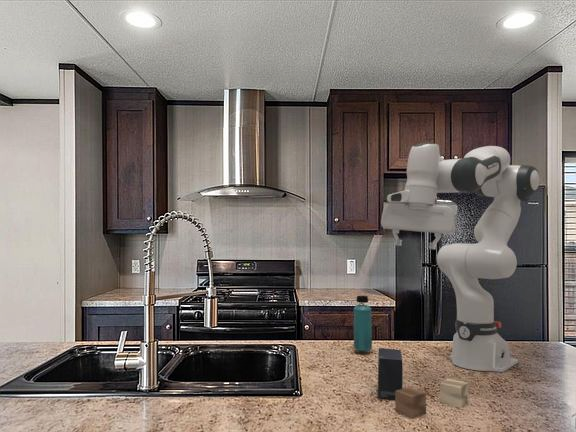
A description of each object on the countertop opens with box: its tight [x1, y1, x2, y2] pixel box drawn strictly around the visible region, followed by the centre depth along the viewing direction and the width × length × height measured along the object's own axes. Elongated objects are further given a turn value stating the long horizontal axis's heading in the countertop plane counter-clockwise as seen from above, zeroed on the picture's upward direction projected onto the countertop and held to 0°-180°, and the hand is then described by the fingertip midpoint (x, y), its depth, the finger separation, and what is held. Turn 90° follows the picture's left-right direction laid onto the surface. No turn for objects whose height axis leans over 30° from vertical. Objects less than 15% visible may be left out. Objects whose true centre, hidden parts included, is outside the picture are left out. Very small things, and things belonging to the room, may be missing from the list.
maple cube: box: [439, 378, 469, 409], centre depth 115 cm, size 5×5×5 cm
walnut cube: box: [394, 386, 427, 419], centre depth 109 cm, size 5×5×5 cm
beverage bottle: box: [353, 295, 373, 352], centre depth 162 cm, size 6×7×20 cm
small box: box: [377, 347, 404, 400], centre depth 122 cm, size 11×6×10 cm, turn 168°
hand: (414, 247), depth 129 cm, fingers open, 8 cm apart
